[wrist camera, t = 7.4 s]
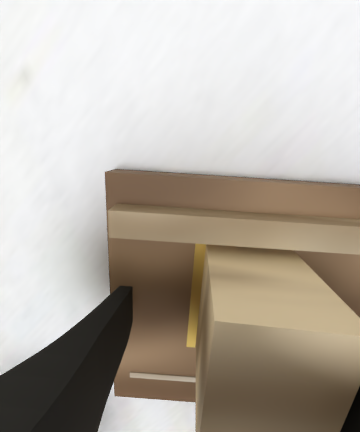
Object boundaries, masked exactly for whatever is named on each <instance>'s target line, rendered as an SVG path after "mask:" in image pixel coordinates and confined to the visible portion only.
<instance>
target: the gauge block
mask: <svg viewBox="0 0 360 432" xmlns="http://www.w3.org/2000/svg"><path fill="white" fill-rule="evenodd" d="M359 386H360V318H359V317H358V316H357V315H356V314H355V313H354V311H353V310H352V309H351V308H350V307H349V306H348V305H347V304H346V303H345V302H344V301H343V300H342V299H341V298H340V297H339V296H338V295H337V294H336V293H335V292H334V291H333V290H332V289H331V288H330V287H329V286H328V285H327V284H326V283H325V282H324V281H323V280H322V279H321V278H320V277H319V276H318V275H317V274H316V273H315V272H314V271H313V270H312V269H311V268H310V267H309V266H308V265H307V264H306V263H305V262H304V261H303V260H302V259H301V258H300V257H299V256H298V255H297V254H296V253H295V252H294V251H293V250H282V249H268V248H253V247H238V246H223V245H208V244H206V249H205V258H204V268H203V277H202V287H201V296H200V306H199V316H198V325H197V335H196V432H340V431H341V428H342V426H343V424H344V421H345V419H346V417H347V414H348V412H349V410H350V407H351V405H352V403H353V400H354V398H355V396H356V393H357V391H358V389H359Z"/></svg>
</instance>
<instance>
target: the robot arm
mask: <svg viewBox="0 0 360 432" xmlns="http://www.w3.org/2000/svg"><path fill="white" fill-rule="evenodd" d="M132 323H133V287H131V286H119V287H118V288H117V289H116V290H114V291H113V292H112V293H111V294H110V295H109V296H108V297H107V298H106V299H105V300H104V301H103V302H102V303H101V304H99V305H98V306H97V307H96V308H95V309H94V310H93V311H92V312H90V313H89V314H88V315H87V316H86V317H85V318H84V319H82V320H81V321H80V322H79V323H77V324H76V325H75V326H74V327H72V328H71V329H70V330H69V331H67V332H66V333H65V334H64V335H62V336H61V337H60V338H58V339H57V340H55V341H54V342H53V343H51V344H50V345H48V346H47V347H45V348H44V349H42V350H41V351H39V352H38V353H36V354H35V355H33V356H32V357H30V358H28V359H27V360H25V361H24V362H22V363H20V364H19V365H17V366H15V367H14V368H12V369H11V370H9V371H7V372H6V373H4V374H2V375H0V432H97V431H98V428H99V424H100V421H101V417H102V414H103V411H104V408H105V405H106V401H107V399H108V396H109V393H110V390H111V388H112V385H113V382H114V379H115V377H116V374H117V371H118V369H119V366H120V363H121V360H122V358H123V355H124V352H125V349H126V346H127V343H128V339H129V336H130V332H131V327H132ZM340 432H360V386H359V389H358V391H357V393H356V396H355V398H354V400H353V403H352V405H351V407H350V410H349V412H348V414H347V417H346V419H345V421H344V424H343V426H342V428H341V431H340Z"/></svg>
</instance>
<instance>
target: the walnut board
mask: <svg viewBox="0 0 360 432" xmlns="http://www.w3.org/2000/svg"><path fill="white" fill-rule="evenodd" d="M105 185H106V208H107V231H108V254H109V277H110V294H111V293H112V292H113V291H114V290H116V289H117V288H118V287H119V286H131V287H133V323H132V327H131V332H130V336H129V339H128V343H127V346H126V349H125V352H124V355H123V358H122V360H121V363H120V366H119V369H118V371H117V374H116V377H115V379H114V392H115V396H121V397H134V398H147V399H160V400H173V401H186V402H196V335H197V325H198V316H199V306H200V296H201V287H202V277H203V268H204V258H205V249H206V244H208V245H223V246H238V247H253V248H268V249H282V250H293V251H294V252H295V253H296V254H297V255H298V256H299V257H300V258H301V259H302V260H303V261H304V262H305V263H306V264H307V265H308V266H309V267H310V268H311V269H312V270H313V271H314V272H315V273H316V274H317V275H318V276H319V277H320V278H321V279H322V280H323V281H324V282H325V283H326V284H327V285H328V286H329V287H330V288H331V289H332V290H333V291H334V292H335V293H336V294H337V295H338V296H339V297H340V298H341V299H342V300H343V301H344V302H345V303H346V304H347V305H348V306H349V307H350V308H351V309H352V310H353V311H354V313H355V314H356V315H357V316H358V317H359V318H360V185H356V184H340V183H324V182H309V181H293V180H277V179H262V178H246V177H230V176H215V175H199V174H183V173H167V172H152V171H136V170H120V169H115V170H111V171H106V172H105Z"/></svg>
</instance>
